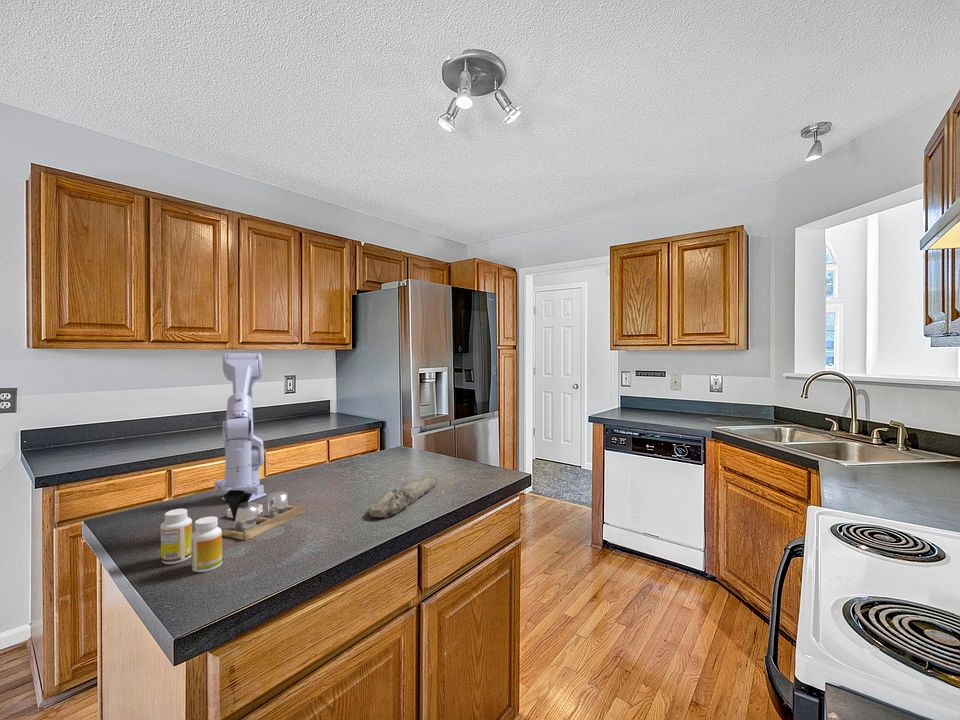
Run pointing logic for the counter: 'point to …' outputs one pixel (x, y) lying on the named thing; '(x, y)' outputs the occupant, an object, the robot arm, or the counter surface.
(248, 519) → the billet
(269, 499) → the cylinder
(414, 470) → the counter surface
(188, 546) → the supplement bottle
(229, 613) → the counter surface
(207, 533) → the supplement bottle
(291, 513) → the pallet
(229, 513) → the button housing
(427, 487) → the elongated rock
